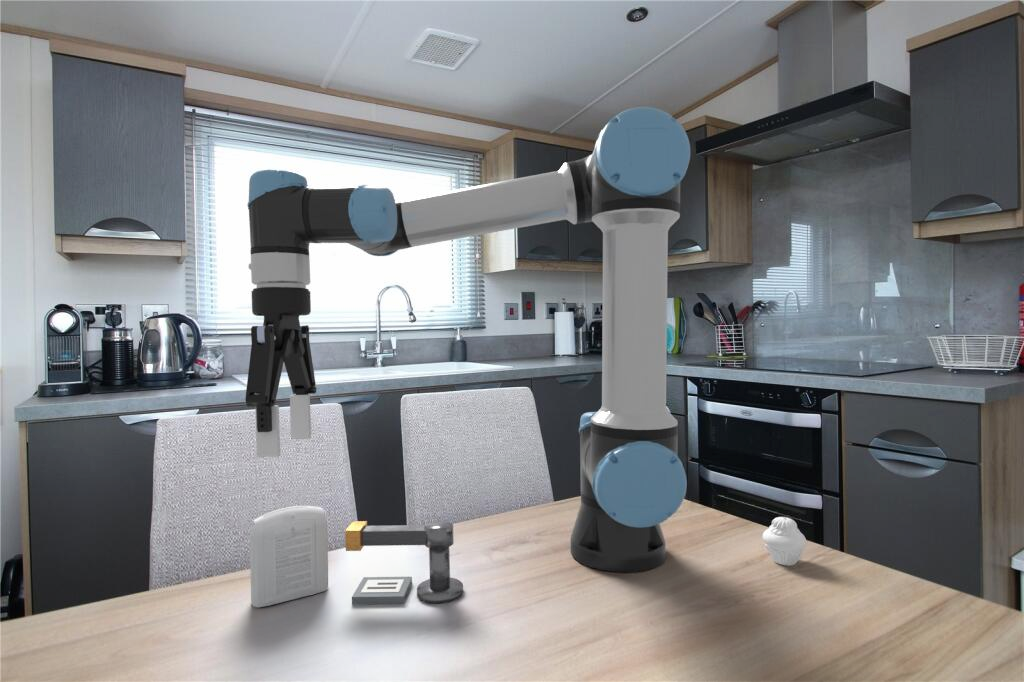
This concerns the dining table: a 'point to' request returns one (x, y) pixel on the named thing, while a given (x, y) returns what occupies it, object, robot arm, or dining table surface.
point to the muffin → (784, 541)
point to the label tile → (382, 590)
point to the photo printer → (288, 555)
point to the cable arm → (399, 535)
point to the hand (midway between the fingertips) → (286, 446)
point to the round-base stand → (439, 580)
